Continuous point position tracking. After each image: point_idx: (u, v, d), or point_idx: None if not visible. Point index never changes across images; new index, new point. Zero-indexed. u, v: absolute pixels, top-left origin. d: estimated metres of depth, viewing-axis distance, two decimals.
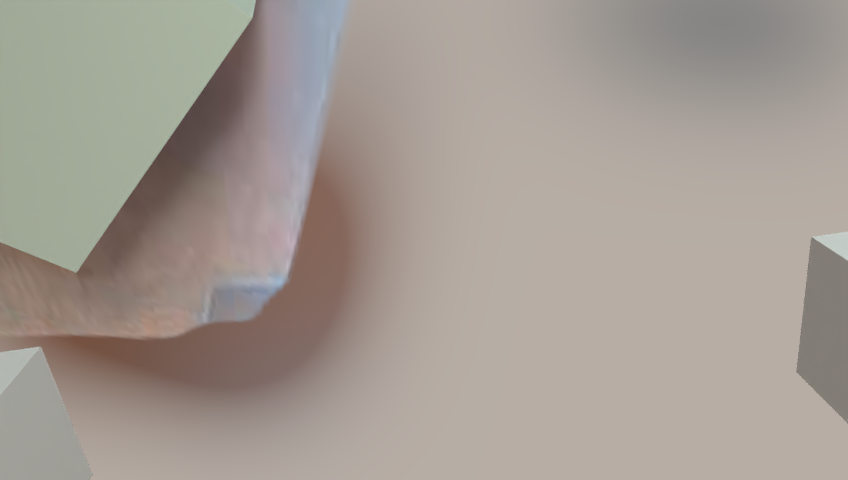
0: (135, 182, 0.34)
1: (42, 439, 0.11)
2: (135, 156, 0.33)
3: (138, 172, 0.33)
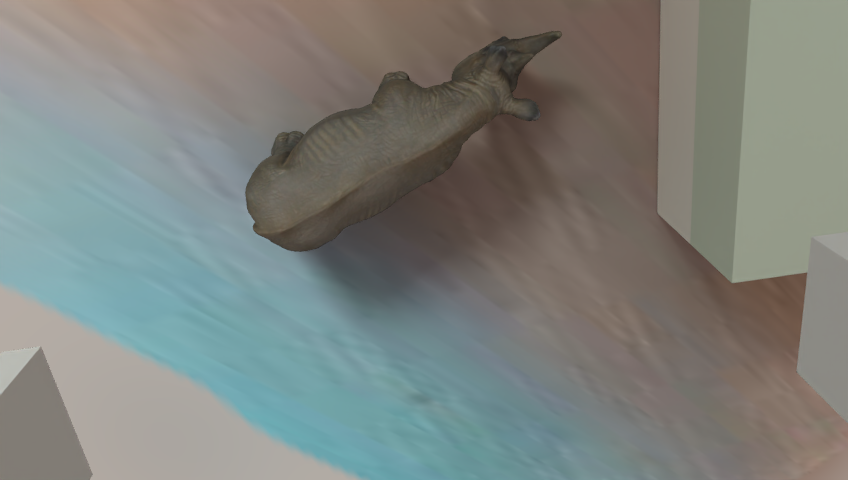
0: None
1: (42, 439, 0.11)
2: None
3: None
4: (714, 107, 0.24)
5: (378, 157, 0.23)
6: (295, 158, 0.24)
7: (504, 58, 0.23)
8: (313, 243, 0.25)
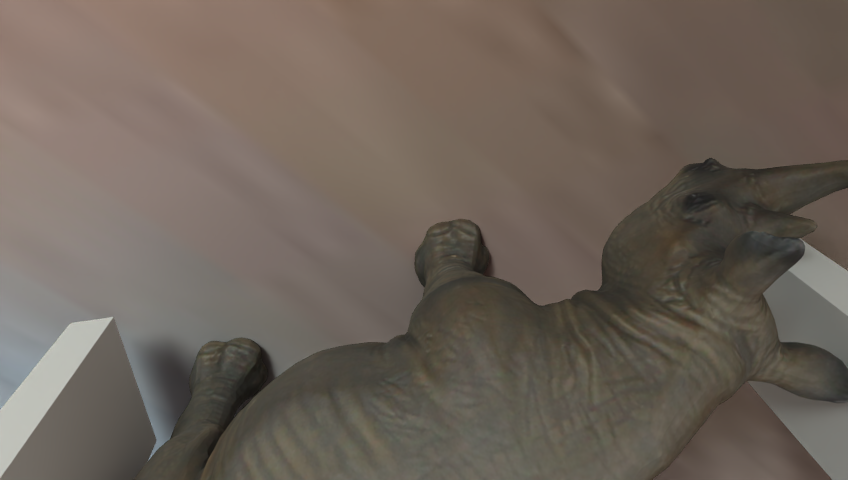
0: None
1: (117, 403, 0.12)
2: None
3: None
4: None
5: None
6: None
7: None
8: None
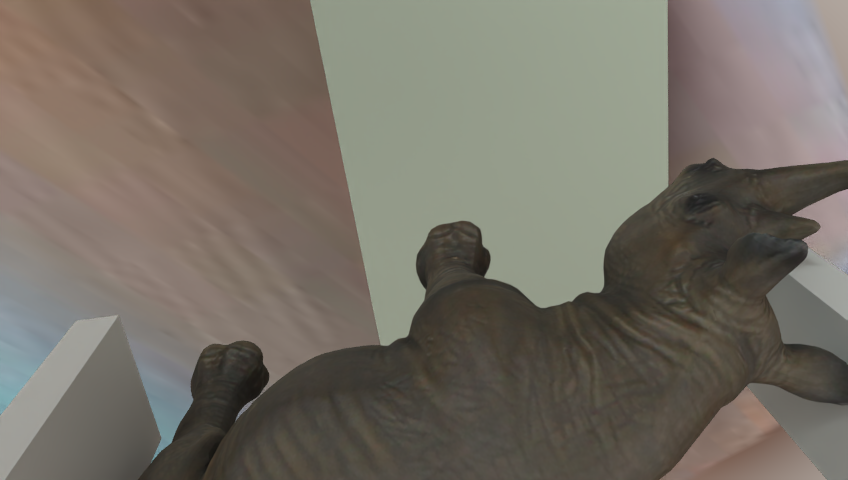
0: (664, 157, 0.21)
1: (122, 401, 0.12)
2: (642, 116, 0.21)
3: (659, 138, 0.21)
4: None
5: None
6: None
7: (794, 268, 0.08)
8: None
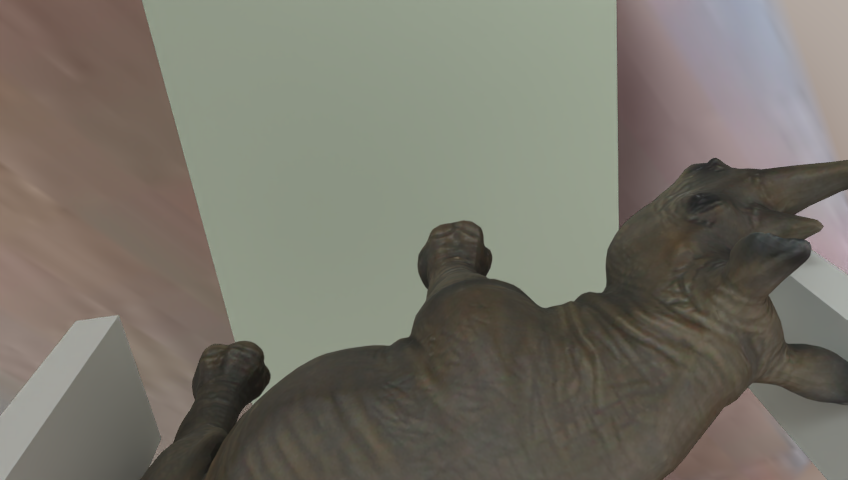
0: None
1: (122, 401, 0.12)
2: (586, 220, 0.17)
3: (608, 246, 0.17)
4: None
5: None
6: None
7: (797, 268, 0.08)
8: None
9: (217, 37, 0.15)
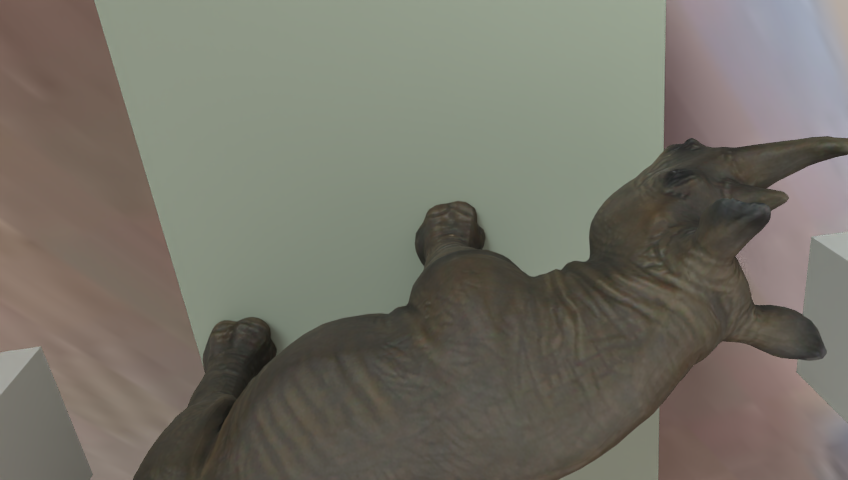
0: None
1: (42, 439, 0.11)
2: None
3: None
4: None
5: (432, 475, 0.09)
6: (231, 455, 0.10)
7: (759, 230, 0.09)
8: None
9: (189, 58, 0.12)
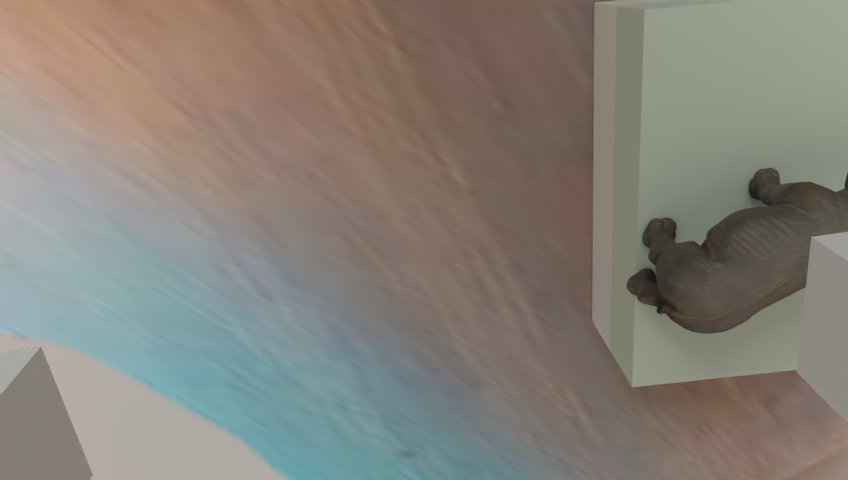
0: None
1: (42, 439, 0.11)
2: None
3: None
4: (621, 263, 0.34)
5: None
6: (724, 251, 0.27)
7: None
8: (728, 328, 0.27)
9: (673, 100, 0.29)
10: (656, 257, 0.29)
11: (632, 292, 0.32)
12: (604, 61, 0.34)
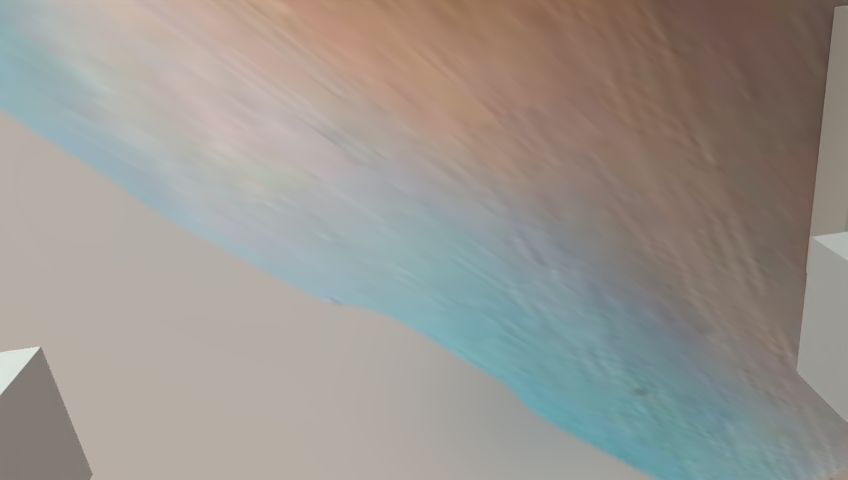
0: None
1: (42, 439, 0.11)
2: None
3: None
4: None
5: None
6: None
7: None
8: None
9: None
10: None
11: None
12: None
